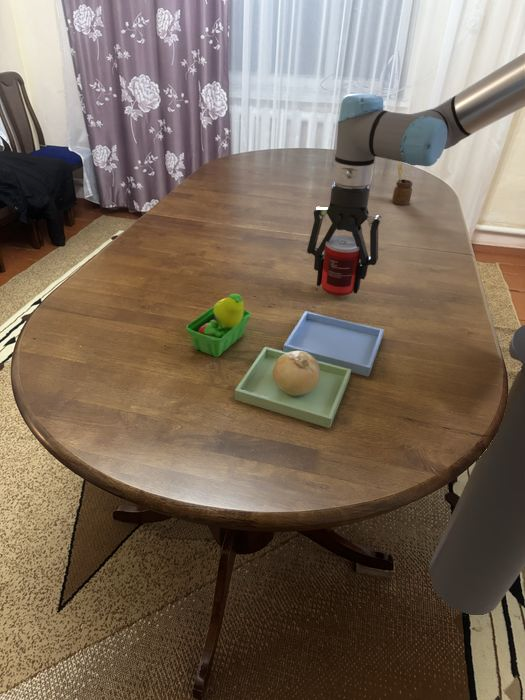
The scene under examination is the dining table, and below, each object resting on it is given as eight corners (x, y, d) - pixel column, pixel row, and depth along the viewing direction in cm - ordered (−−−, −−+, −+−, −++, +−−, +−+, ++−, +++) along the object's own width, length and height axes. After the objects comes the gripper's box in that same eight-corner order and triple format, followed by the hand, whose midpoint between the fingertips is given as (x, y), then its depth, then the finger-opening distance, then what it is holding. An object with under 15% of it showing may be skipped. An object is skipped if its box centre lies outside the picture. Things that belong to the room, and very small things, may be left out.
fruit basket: (220, 322, 95) (218, 272, 88) (257, 335, 92) (258, 285, 85) (185, 350, 87) (181, 297, 80) (224, 366, 84) (223, 312, 77)
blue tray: (381, 338, 92) (383, 329, 91) (368, 377, 83) (370, 367, 81) (304, 319, 97) (305, 311, 96) (282, 354, 87) (283, 345, 86)
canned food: (342, 277, 109) (348, 232, 103) (362, 292, 103) (369, 246, 97) (314, 283, 107) (318, 237, 100) (332, 299, 101) (338, 252, 94)
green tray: (349, 378, 82) (351, 369, 81) (329, 428, 72) (331, 419, 71) (264, 355, 87) (264, 346, 85) (234, 399, 77) (234, 390, 75)
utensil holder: (402, 206, 155) (410, 169, 148) (387, 201, 159) (394, 164, 152) (412, 203, 158) (421, 166, 151) (398, 198, 162) (405, 162, 155)
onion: (262, 386, 79) (263, 353, 74) (291, 365, 83) (294, 332, 79) (299, 409, 74) (303, 375, 70) (327, 385, 79) (333, 352, 75)
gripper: (295, 182, 92) (289, 285, 105) (401, 196, 86) (380, 304, 99) (307, 172, 97) (299, 271, 111) (407, 185, 91) (386, 288, 105)
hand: (337, 286), depth 105 cm, fingers closed on canned food, 8 cm apart
